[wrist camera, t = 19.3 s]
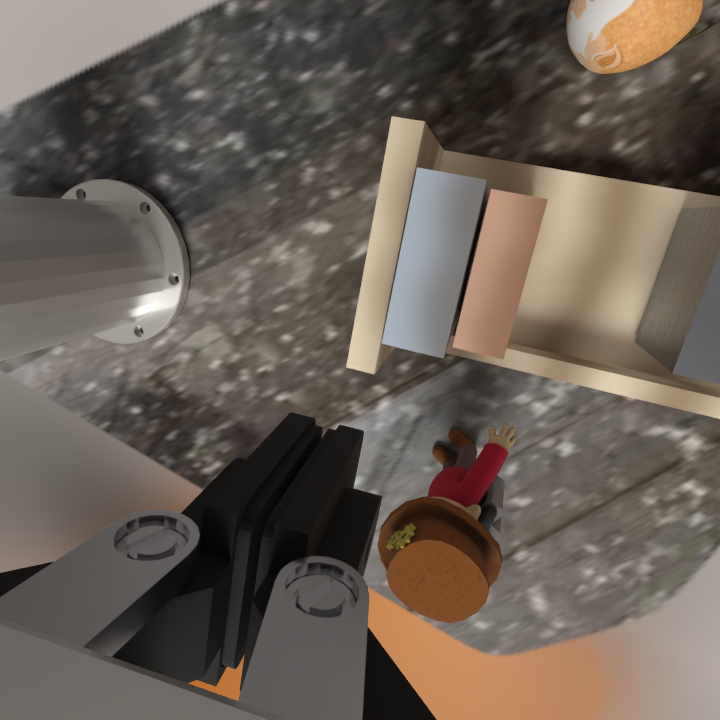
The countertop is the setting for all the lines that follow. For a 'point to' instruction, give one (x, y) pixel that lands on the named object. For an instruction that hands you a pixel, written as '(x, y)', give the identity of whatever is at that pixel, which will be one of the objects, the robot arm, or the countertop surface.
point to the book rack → (519, 269)
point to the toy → (450, 533)
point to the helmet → (628, 31)
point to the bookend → (687, 300)
